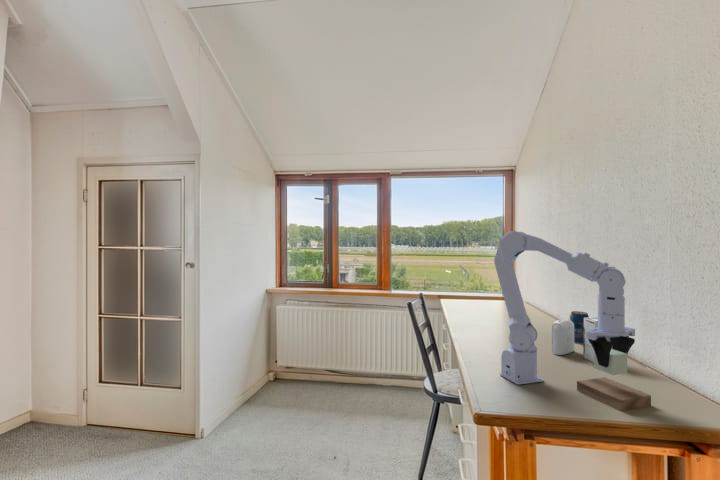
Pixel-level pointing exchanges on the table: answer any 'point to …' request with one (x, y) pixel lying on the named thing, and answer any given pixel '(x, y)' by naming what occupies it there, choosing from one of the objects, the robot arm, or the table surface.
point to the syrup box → (588, 350)
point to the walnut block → (614, 393)
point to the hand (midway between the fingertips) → (611, 364)
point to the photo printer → (563, 337)
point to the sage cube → (613, 363)
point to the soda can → (578, 325)
